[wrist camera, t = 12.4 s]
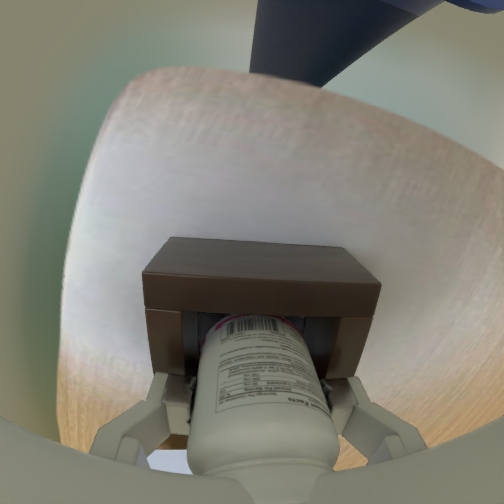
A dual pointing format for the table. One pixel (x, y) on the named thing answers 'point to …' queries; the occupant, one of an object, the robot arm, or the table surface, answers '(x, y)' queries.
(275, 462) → the pill bottle
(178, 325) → the socket
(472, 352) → the table surface
